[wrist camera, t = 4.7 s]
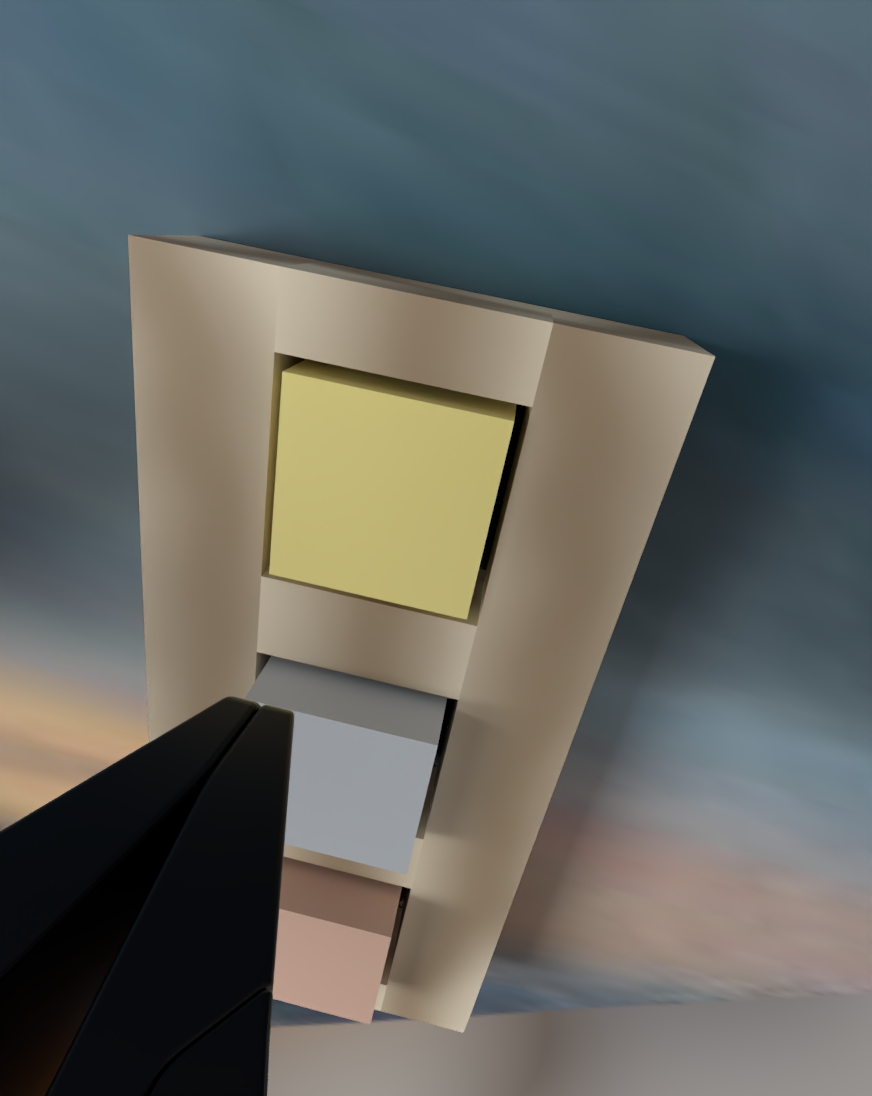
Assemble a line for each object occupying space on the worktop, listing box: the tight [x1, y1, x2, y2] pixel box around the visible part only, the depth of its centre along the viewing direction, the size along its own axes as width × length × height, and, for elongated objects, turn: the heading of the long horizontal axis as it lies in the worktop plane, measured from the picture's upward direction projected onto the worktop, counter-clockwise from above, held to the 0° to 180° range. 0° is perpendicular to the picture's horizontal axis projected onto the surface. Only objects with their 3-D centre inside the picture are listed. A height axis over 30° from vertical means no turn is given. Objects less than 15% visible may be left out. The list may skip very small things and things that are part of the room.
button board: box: [128, 235, 715, 1033], centre depth 20 cm, size 12×25×3 cm, turn 170°
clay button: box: [273, 856, 402, 1024], centre depth 22 cm, size 5×5×3 cm
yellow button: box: [269, 359, 517, 620], centre depth 16 cm, size 5×5×3 cm
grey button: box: [244, 656, 447, 875], centre depth 18 cm, size 5×5×3 cm
